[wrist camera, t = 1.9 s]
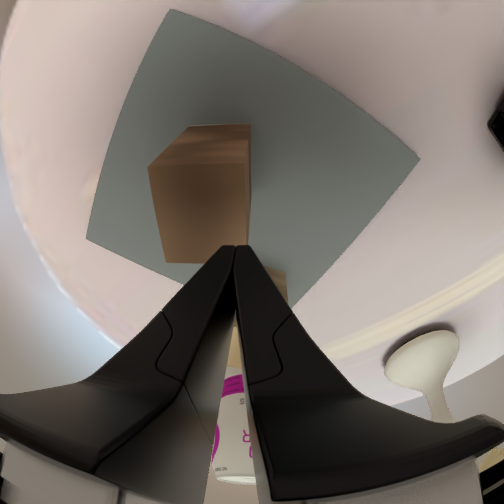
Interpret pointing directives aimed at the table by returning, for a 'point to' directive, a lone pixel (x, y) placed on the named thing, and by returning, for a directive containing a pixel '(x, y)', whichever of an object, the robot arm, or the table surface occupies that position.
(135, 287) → the table surface
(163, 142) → the slate mat
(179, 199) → the walnut block
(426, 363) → the flower in vase
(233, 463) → the supplement can
